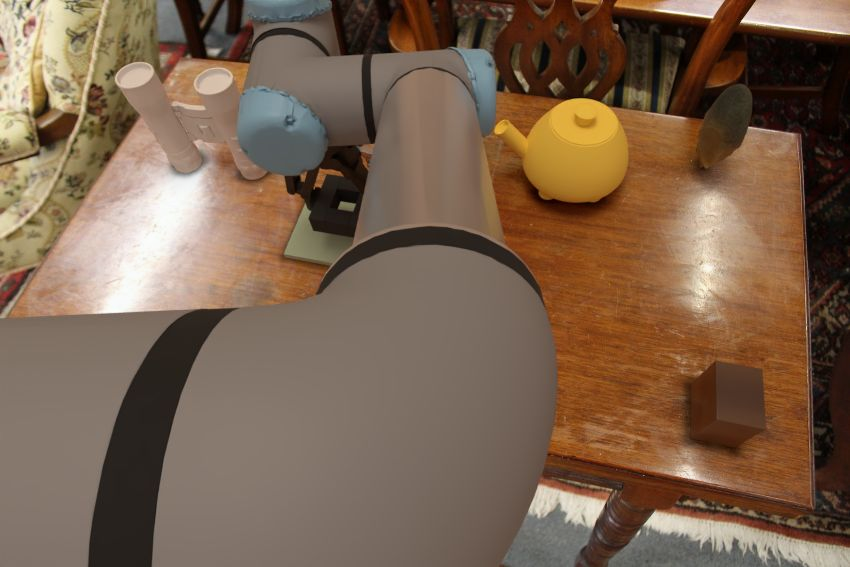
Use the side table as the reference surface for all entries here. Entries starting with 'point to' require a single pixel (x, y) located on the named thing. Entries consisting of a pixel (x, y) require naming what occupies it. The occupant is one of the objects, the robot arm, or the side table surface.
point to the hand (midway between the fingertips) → (352, 226)
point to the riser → (727, 404)
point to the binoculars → (188, 115)
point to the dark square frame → (336, 207)
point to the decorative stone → (724, 125)
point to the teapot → (572, 151)
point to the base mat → (316, 241)
